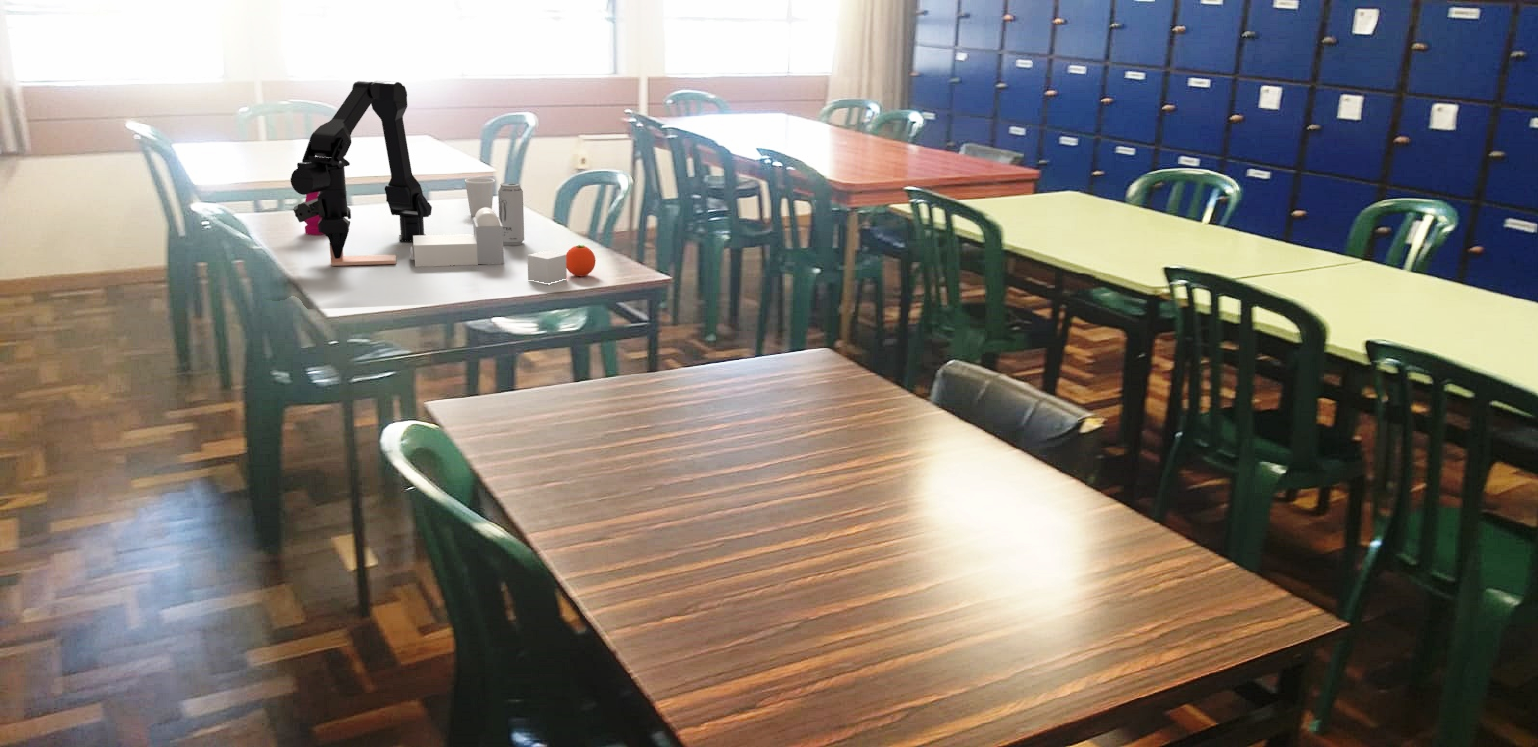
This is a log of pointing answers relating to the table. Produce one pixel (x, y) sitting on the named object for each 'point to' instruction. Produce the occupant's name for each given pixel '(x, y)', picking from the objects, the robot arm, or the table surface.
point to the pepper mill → (312, 222)
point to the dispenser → (463, 244)
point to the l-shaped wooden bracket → (362, 259)
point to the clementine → (580, 260)
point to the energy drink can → (511, 213)
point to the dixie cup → (479, 193)
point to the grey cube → (547, 267)
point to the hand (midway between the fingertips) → (338, 256)
